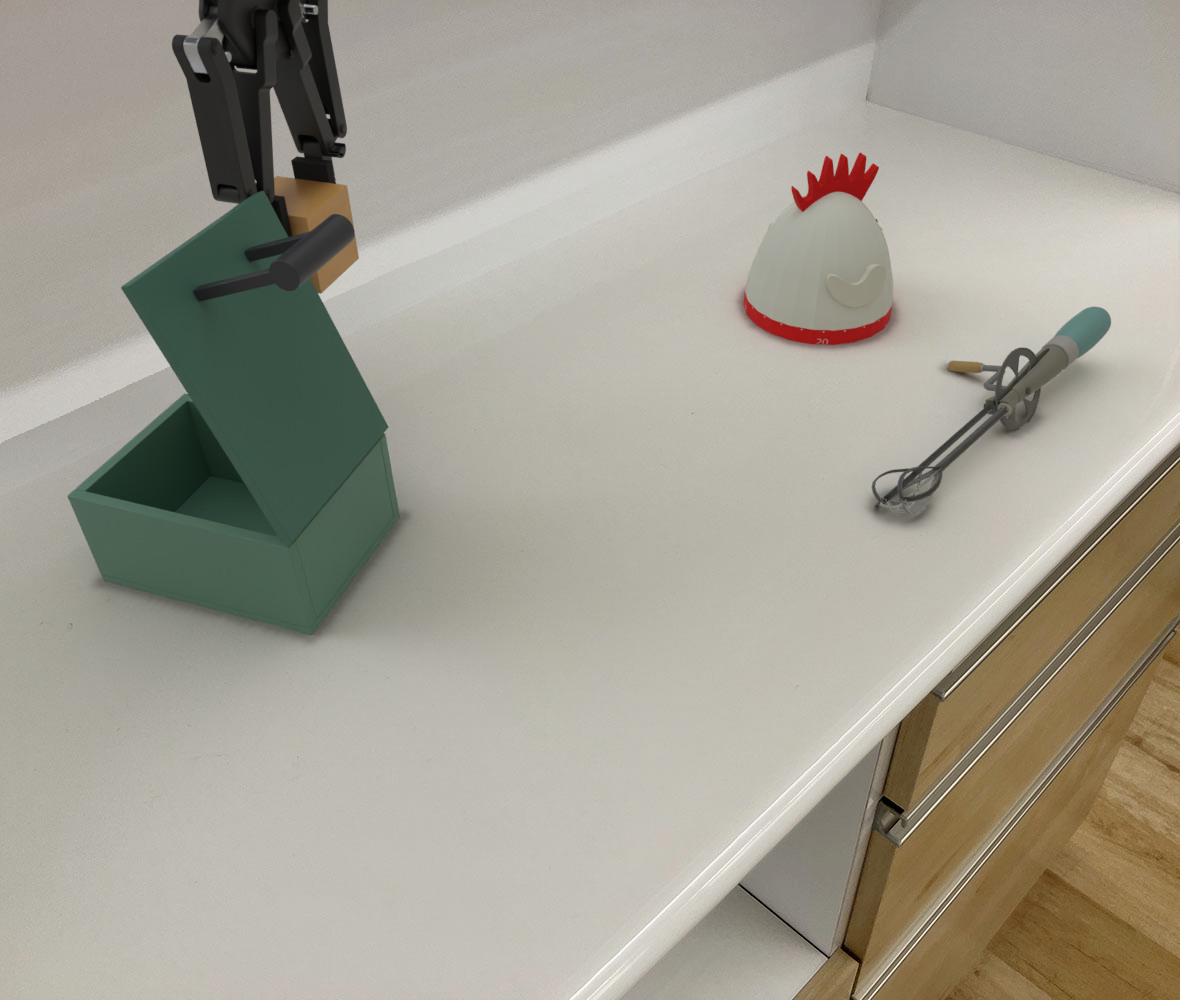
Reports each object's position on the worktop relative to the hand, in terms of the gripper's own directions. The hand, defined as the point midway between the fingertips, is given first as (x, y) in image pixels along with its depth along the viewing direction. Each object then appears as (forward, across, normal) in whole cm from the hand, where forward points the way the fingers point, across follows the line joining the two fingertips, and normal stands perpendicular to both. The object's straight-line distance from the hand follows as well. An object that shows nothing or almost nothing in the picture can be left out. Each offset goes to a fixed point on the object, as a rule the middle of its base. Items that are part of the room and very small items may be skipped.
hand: (305, 266), depth 74 cm
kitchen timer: (+16, +34, -33) cm, 50 cm away
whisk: (+16, +19, -47) cm, 53 cm away
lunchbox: (+17, -12, 0) cm, 20 cm away
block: (0, 0, 0) cm, 0 cm away
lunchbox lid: (0, -12, -4) cm, 13 cm away
